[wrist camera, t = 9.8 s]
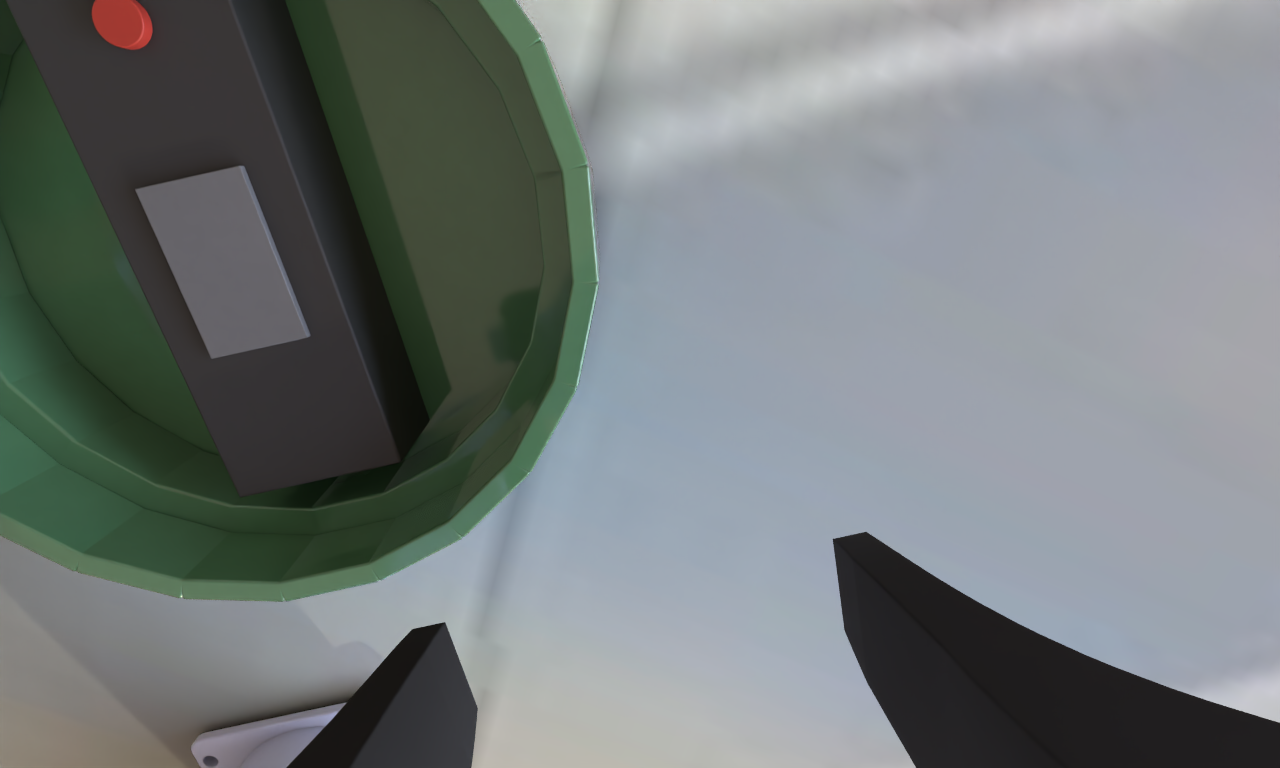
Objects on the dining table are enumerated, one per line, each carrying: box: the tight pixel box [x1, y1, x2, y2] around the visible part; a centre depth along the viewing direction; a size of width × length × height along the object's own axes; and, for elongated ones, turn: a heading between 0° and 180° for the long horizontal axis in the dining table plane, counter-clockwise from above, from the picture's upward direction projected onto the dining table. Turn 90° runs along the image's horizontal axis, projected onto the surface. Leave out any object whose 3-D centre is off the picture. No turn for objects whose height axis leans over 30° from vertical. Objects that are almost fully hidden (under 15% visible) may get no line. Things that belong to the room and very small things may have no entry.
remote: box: [6, 0, 430, 497], centre depth 16 cm, size 12×4×3 cm, turn 12°
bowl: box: [0, 0, 600, 602], centre depth 16 cm, size 17×17×5 cm
